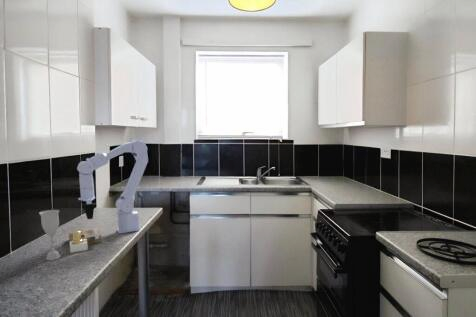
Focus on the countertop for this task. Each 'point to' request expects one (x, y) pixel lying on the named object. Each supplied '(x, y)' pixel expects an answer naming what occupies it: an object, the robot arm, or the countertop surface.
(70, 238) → the socket block
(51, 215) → the chalice
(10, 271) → the countertop surface
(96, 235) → the bar
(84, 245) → the white block with hole
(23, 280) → the countertop surface
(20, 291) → the countertop surface
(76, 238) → the peg
